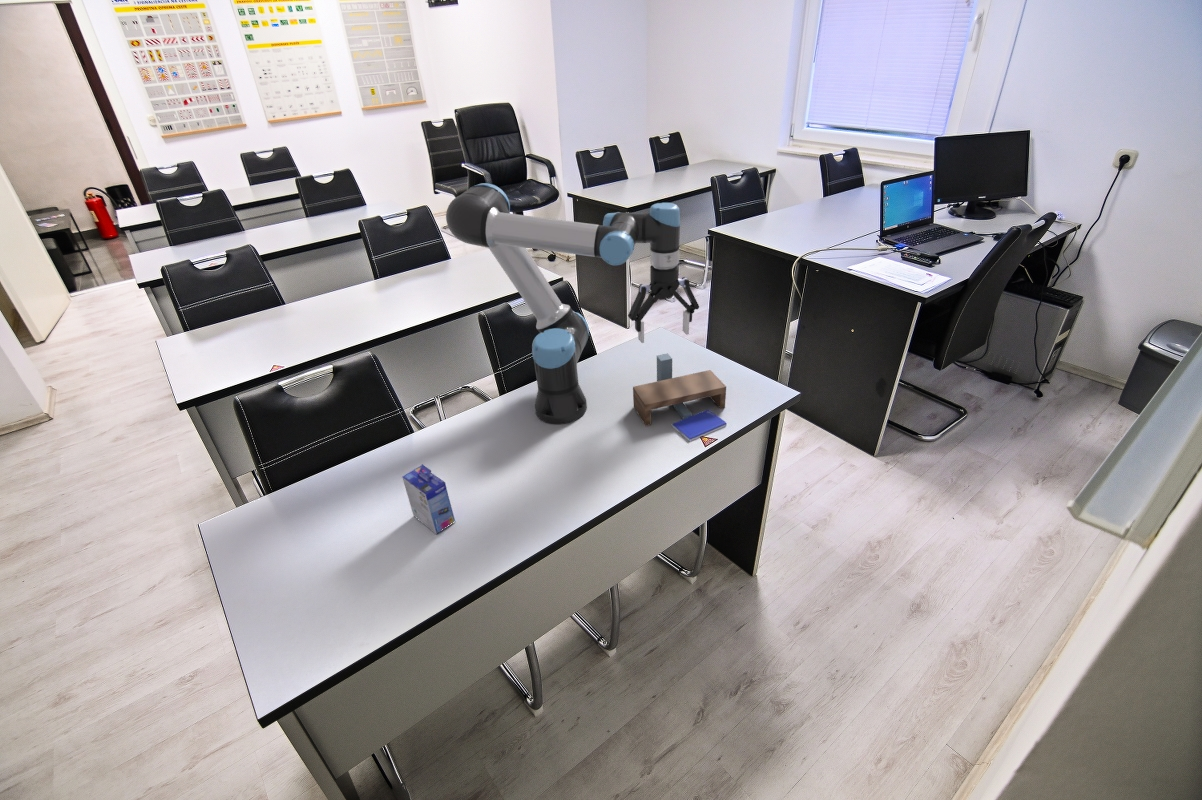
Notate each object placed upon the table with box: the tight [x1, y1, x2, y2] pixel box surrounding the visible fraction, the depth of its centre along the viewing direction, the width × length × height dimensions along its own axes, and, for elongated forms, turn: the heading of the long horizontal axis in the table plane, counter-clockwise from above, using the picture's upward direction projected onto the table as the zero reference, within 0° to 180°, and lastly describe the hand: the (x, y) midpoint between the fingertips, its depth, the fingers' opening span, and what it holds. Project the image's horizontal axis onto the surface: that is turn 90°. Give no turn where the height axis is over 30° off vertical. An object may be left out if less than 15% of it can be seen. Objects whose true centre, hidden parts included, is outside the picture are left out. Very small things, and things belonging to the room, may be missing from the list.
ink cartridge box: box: [401, 464, 456, 534], centre depth 127 cm, size 10×6×14 cm, turn 48°
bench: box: [632, 369, 727, 427], centre depth 160 cm, size 24×10×7 cm, turn 107°
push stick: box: [656, 353, 693, 420], centre depth 162 cm, size 4×19×11 cm, turn 17°
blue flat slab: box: [671, 409, 728, 442], centre depth 154 cm, size 2×8×12 cm
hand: (663, 336), depth 161 cm, fingers open, 13 cm apart
